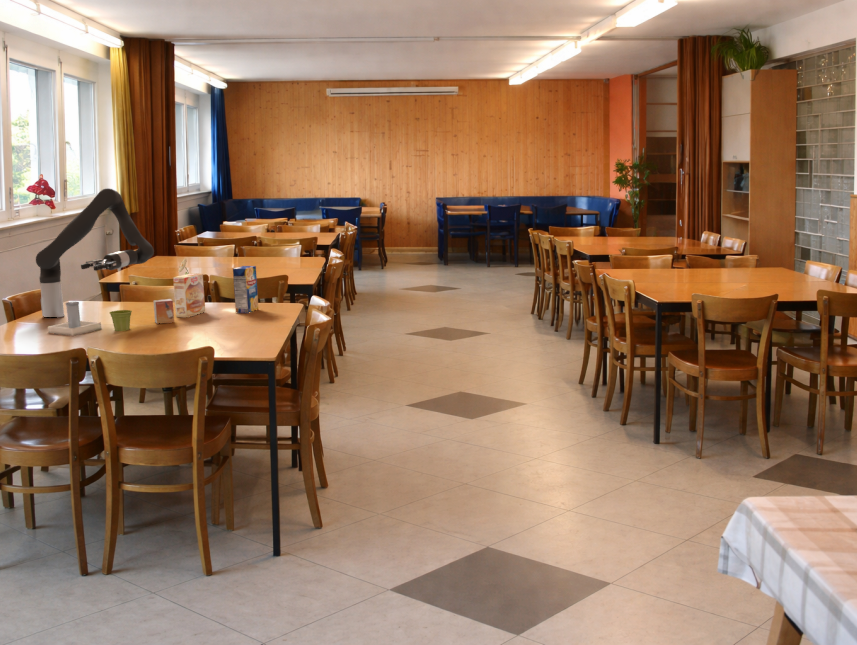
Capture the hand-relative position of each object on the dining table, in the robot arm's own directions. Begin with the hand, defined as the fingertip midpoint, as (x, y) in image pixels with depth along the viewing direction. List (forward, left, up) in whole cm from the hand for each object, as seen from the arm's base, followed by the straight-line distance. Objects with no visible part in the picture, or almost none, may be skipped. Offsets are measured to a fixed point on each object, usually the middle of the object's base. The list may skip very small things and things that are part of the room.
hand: (87, 267), depth 366 cm
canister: (+2, -12, -26) cm, 29 cm away
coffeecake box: (+22, +40, -28) cm, 53 cm away
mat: (+2, -12, -27) cm, 30 cm away
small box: (+24, +20, -28) cm, 41 cm away
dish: (+2, -12, -27) cm, 29 cm away
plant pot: (+20, -2, -27) cm, 34 cm away
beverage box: (+43, +57, -27) cm, 76 cm away
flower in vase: (+3, +61, -27) cm, 67 cm away
